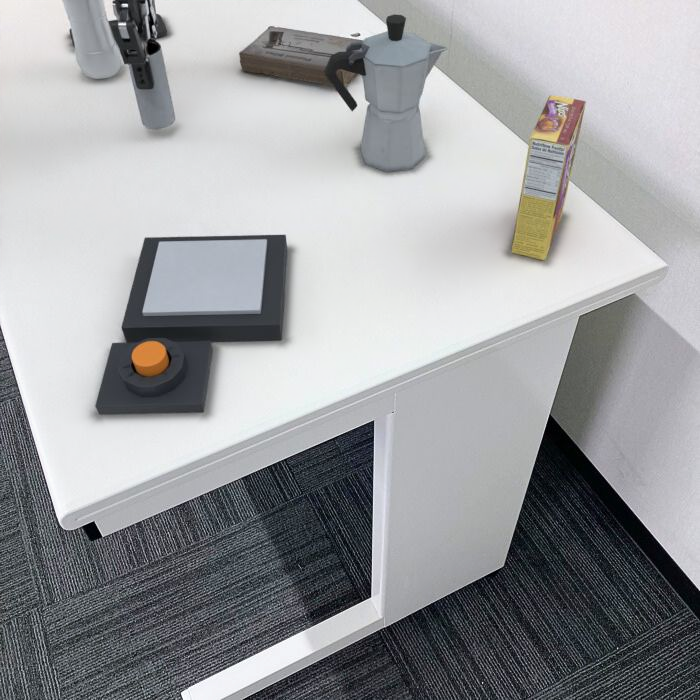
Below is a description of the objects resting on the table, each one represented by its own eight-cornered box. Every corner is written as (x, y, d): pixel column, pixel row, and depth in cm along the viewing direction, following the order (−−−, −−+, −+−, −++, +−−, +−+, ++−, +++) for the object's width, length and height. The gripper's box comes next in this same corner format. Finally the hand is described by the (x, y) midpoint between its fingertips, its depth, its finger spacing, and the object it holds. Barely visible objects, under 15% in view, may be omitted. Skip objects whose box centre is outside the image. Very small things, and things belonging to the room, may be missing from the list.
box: (344, 91, 107) (343, 70, 105) (239, 72, 112) (237, 51, 110) (372, 59, 114) (371, 39, 112) (272, 42, 119) (270, 23, 117)
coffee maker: (430, 129, 102) (440, -4, 88) (447, 166, 96) (460, 29, 82) (323, 141, 100) (316, 8, 87) (333, 180, 94) (328, 43, 81)
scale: (126, 344, 76) (119, 323, 74) (149, 253, 86) (143, 233, 83) (281, 340, 76) (279, 320, 74) (287, 251, 86) (285, 230, 83)
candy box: (526, 208, 90) (550, 92, 79) (562, 216, 89) (590, 100, 77) (507, 253, 85) (529, 136, 73) (544, 262, 83) (572, 145, 72)
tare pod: (98, 414, 70) (90, 395, 68) (115, 351, 76) (107, 331, 73) (203, 412, 70) (198, 393, 68) (213, 349, 76) (208, 329, 73)
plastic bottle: (99, 59, 116) (59, -80, 101) (134, 68, 114) (99, -73, 99) (72, 78, 112) (27, -64, 97) (107, 88, 110) (67, -56, 95)
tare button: (132, 377, 70) (128, 366, 69) (138, 351, 72) (134, 341, 71) (166, 376, 70) (163, 366, 69) (171, 351, 72) (168, 340, 71)
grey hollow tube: (163, 108, 103) (148, 35, 95) (182, 121, 101) (167, 47, 93) (135, 120, 101) (117, 47, 93) (154, 133, 99) (137, 60, 91)
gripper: (140, -40, 79) (170, 106, 91) (160, -88, 88) (185, 50, 101) (69, -39, 79) (109, 107, 91) (97, -87, 88) (130, 51, 101)
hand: (149, 77), depth 96 cm, fingers closed on grey hollow tube, 4 cm apart
